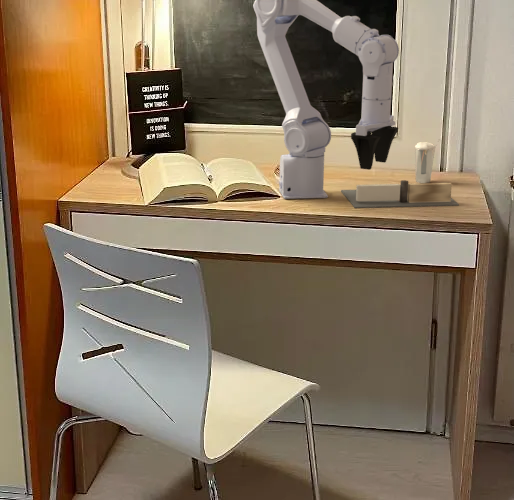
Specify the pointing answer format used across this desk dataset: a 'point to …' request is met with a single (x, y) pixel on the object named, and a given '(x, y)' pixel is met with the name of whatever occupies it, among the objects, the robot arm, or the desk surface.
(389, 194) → the fence gate
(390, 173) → the desk surface
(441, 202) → the card
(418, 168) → the milkshake
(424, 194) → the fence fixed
